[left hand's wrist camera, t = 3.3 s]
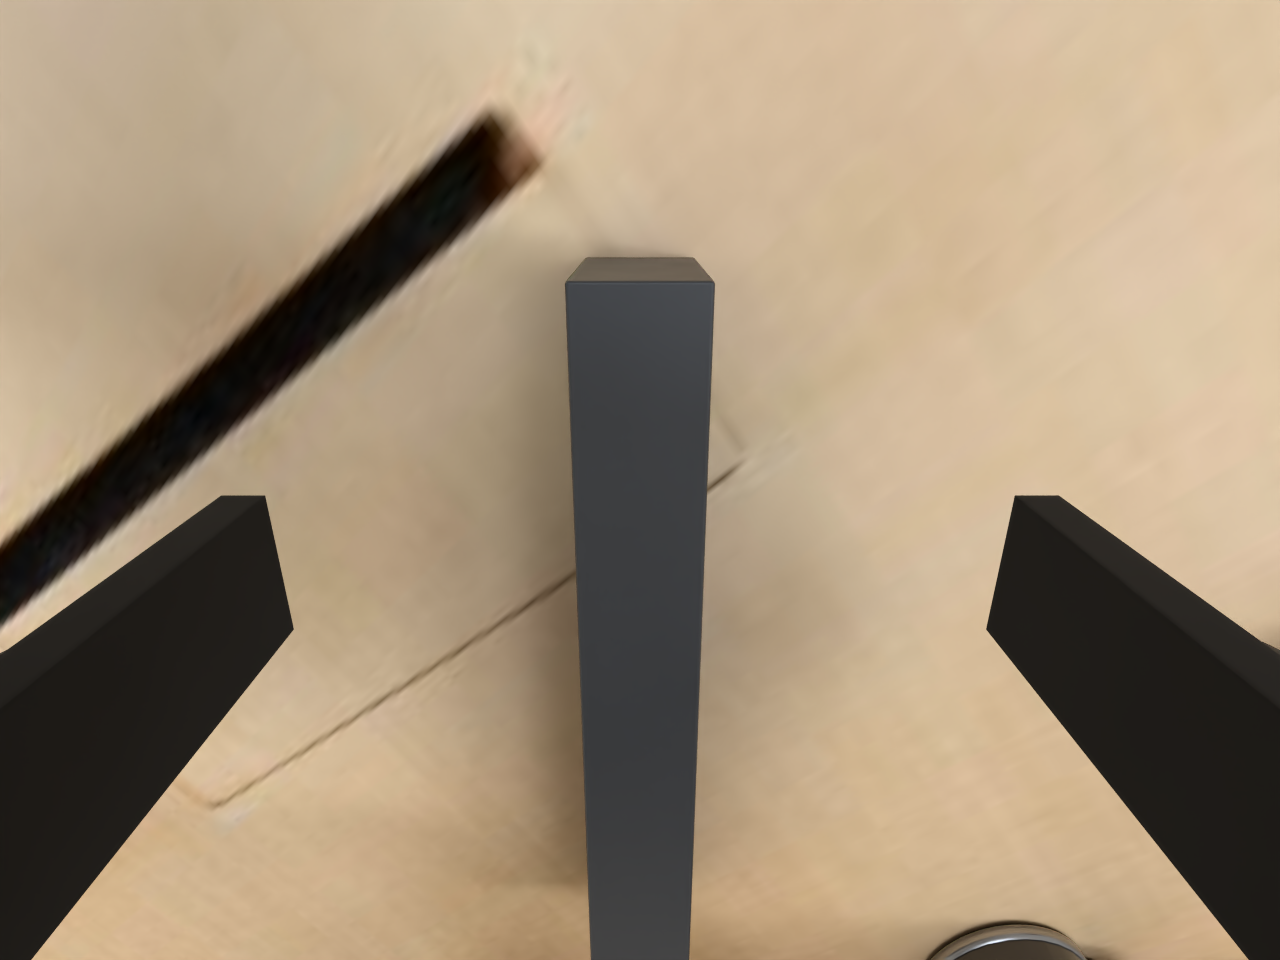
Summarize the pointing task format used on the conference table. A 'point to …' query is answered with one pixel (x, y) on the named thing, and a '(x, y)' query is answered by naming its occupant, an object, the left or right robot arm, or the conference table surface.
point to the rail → (639, 585)
